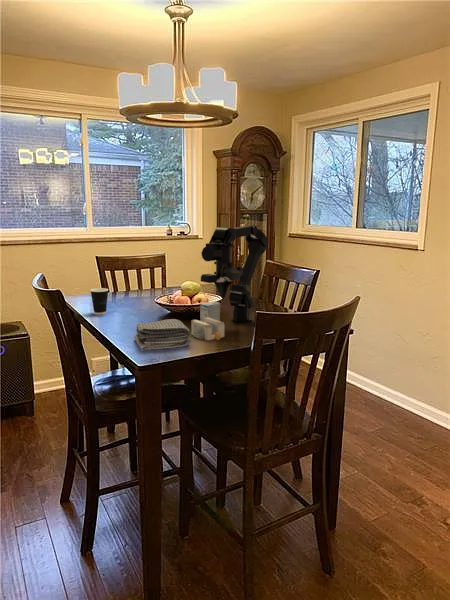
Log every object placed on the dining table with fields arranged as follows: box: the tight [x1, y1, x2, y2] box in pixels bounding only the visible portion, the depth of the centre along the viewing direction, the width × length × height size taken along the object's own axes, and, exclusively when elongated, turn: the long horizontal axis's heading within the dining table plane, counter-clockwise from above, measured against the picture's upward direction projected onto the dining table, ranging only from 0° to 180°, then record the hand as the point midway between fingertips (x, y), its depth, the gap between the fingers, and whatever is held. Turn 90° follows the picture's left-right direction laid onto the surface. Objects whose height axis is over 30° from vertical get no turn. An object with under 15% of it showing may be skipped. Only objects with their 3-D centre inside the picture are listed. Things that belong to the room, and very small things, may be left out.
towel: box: [133, 318, 191, 351], centre depth 163 cm, size 15×18×8 cm
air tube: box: [193, 323, 218, 340], centre depth 173 cm, size 10×4×4 cm, turn 129°
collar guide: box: [190, 317, 225, 341], centre depth 172 cm, size 8×12×6 cm
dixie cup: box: [89, 287, 109, 316], centre depth 205 cm, size 8×8×11 cm
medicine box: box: [199, 301, 221, 322], centre depth 191 cm, size 8×4×9 cm, turn 141°
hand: (222, 297), depth 184 cm, fingers closed
